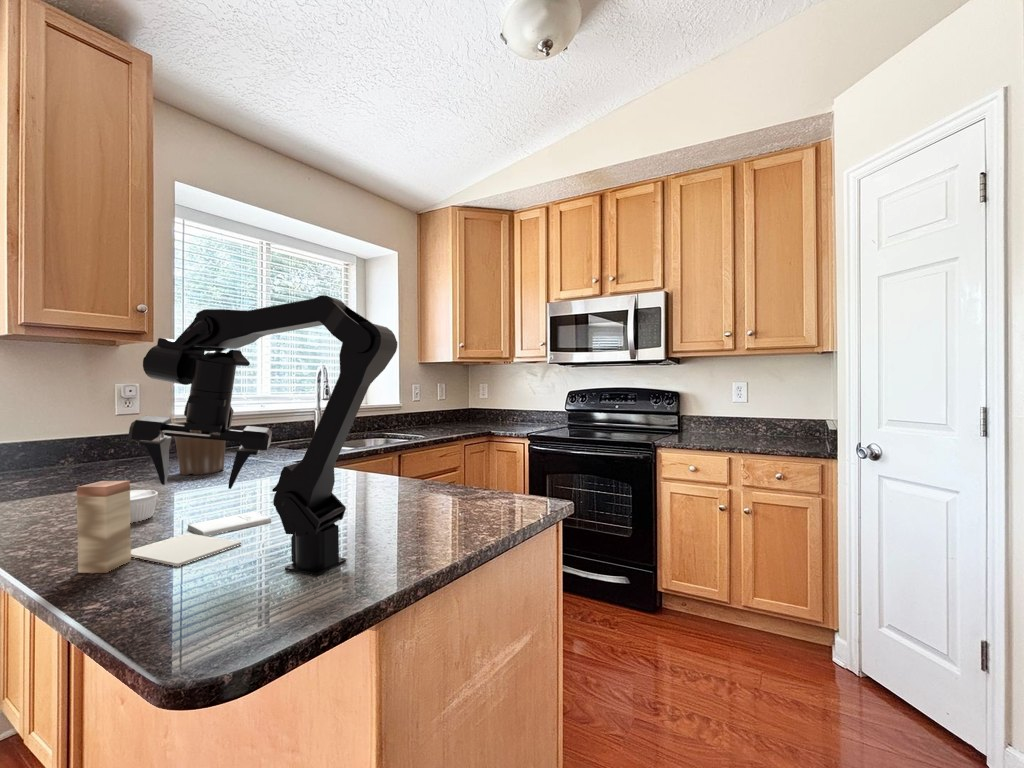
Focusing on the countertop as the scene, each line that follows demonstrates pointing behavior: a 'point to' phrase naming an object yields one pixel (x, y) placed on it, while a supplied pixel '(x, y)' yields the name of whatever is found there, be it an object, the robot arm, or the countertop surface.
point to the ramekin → (142, 504)
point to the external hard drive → (228, 523)
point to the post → (103, 526)
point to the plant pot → (199, 454)
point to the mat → (182, 549)
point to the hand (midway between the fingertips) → (197, 486)
